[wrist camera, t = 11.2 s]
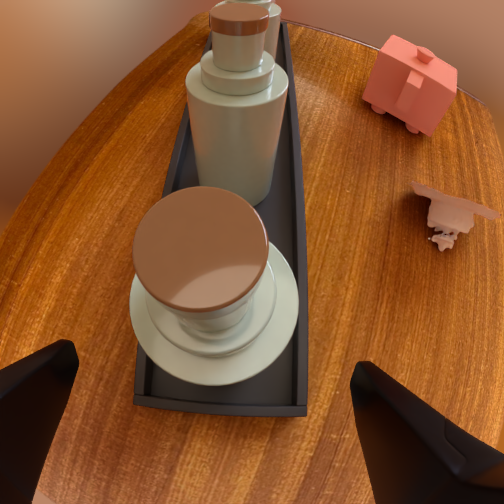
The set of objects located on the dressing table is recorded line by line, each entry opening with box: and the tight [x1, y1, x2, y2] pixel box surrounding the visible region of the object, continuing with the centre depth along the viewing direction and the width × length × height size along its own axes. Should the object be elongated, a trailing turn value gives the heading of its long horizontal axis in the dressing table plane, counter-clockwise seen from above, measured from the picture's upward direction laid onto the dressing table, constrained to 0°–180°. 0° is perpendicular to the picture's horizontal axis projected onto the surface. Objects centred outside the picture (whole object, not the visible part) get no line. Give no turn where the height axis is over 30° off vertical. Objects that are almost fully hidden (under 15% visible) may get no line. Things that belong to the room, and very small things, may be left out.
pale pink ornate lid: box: [408, 180, 501, 251], centre depth 20 cm, size 8×5×8 cm
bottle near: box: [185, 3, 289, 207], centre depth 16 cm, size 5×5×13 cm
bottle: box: [129, 186, 299, 386], centre depth 12 cm, size 5×5×13 cm
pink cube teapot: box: [362, 35, 457, 137], centre depth 24 cm, size 8×12×8 cm, turn 148°
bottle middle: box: [215, 0, 281, 61], centre depth 21 cm, size 5×5×13 cm
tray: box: [133, 22, 308, 417], centre depth 24 cm, size 42×9×2 cm, turn 178°
